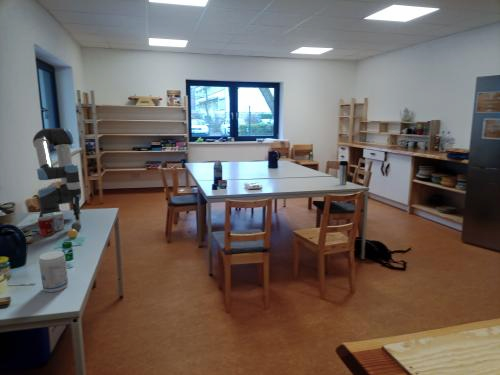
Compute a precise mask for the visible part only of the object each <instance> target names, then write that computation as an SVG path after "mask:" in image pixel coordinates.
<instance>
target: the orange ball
mask: <svg viewBox="0 0 500 375" xmlns="http://www.w3.org/2000/svg"><path fill="white" fill-rule="evenodd" d="M66 234H67V237H68V239H70V238H77V236H78V231H76V230H75V229H72V228H71V229H69V230H68V231H67V233H66Z"/></svg>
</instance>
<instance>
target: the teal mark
mask: <svg viewBox="0 0 500 375" xmlns="http://www.w3.org/2000/svg"><path fill="white" fill-rule="evenodd" d="M84 239H86V236H83V237H75V238H63V239H62V238H61V239H58V241H57V243H56V244H55V245H54V249H62V248H61V243H62V242H66V241H73V242H75V243H76V245H77V244H81V245H80V246H83V244H84V241H85V240H84ZM75 243H74V244H75ZM72 247H75V246H74V245H73V246H72Z"/></svg>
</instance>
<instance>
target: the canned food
mask: <svg viewBox="0 0 500 375" xmlns="http://www.w3.org/2000/svg"><path fill="white" fill-rule="evenodd" d="M37 220H38V229H39V234H40V237H42V238H45V237H47V238H48V237H52V236H54V235H55V233H56V231H55V230H54V223H53V217H52V216H43V217H40V218H39V217H38V218H37Z"/></svg>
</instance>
